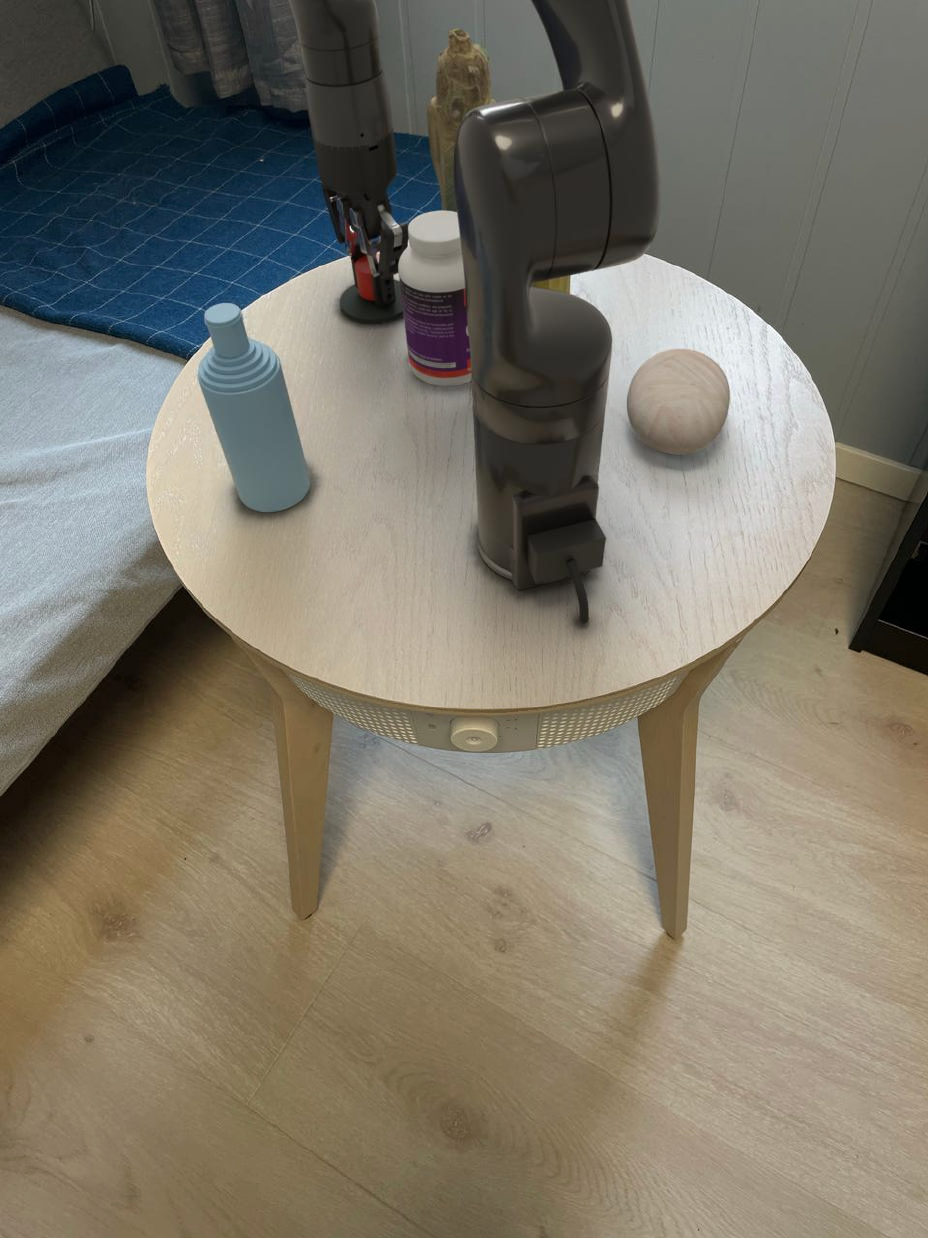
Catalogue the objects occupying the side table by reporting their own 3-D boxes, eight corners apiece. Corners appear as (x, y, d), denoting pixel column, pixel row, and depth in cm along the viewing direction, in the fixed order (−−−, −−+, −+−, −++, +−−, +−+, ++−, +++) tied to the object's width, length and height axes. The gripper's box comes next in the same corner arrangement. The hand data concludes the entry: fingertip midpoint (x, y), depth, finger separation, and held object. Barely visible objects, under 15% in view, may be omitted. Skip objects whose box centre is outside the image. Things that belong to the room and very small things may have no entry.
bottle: (316, 502, 74) (271, 327, 60) (243, 519, 73) (180, 345, 60) (304, 456, 78) (259, 281, 64) (234, 471, 77) (174, 297, 63)
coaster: (421, 315, 91) (421, 310, 90) (348, 330, 90) (347, 325, 89) (403, 276, 96) (403, 272, 95) (334, 291, 95) (333, 286, 94)
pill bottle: (481, 395, 82) (476, 253, 71) (401, 387, 83) (383, 247, 72) (496, 345, 87) (493, 205, 76) (420, 339, 88) (406, 200, 77)
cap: (378, 276, 93) (375, 249, 91) (402, 289, 92) (399, 261, 89) (351, 291, 92) (347, 264, 89) (375, 304, 90) (371, 277, 88)
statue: (505, 268, 96) (503, 6, 76) (500, 310, 91) (497, 41, 71) (444, 267, 96) (427, 8, 77) (436, 310, 91) (416, 43, 72)
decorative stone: (639, 373, 83) (646, 328, 79) (733, 388, 81) (744, 343, 77) (609, 458, 76) (615, 413, 72) (711, 478, 74) (723, 432, 70)
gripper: (281, 112, 81) (314, 279, 95) (354, 164, 74) (379, 338, 87) (349, 90, 83) (372, 257, 97) (427, 139, 76) (440, 312, 89)
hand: (375, 294), depth 92 cm, fingers closed on cap, 3 cm apart
